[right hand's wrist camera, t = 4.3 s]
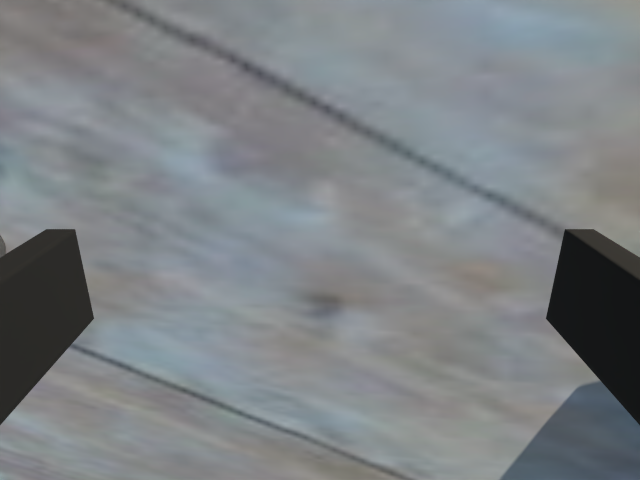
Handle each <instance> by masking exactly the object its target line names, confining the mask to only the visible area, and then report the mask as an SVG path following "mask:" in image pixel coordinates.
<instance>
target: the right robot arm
mask: <svg viewBox="0 0 640 480" xmlns="http://www.w3.org/2000/svg"><path fill="white" fill-rule="evenodd" d="M93 319H94V317H93V312H92V307H91V303H90V298H89V293H88V288H87V284H86V279H85V274H84V269H83V265H82V260H81V255H80V251H79V246H78V241H77V236H76V232H75V229H46V230H45V231H43V232H41V233H40V234H38V235H36V236H35V237H33V238H32V239H30V240H28V241H27V242H25V243H23V244H22V245H20V246H18V247H17V248H15V249H14V250H12V251H10V252H9V253H7V254H5V255H4V256H2V257H1V258H0V425H1V424H2V422H3V421H4V420H5V419H6V418H7V417H8V416H9V414H10V413H11V412H12V411H13V410H14V409H15V408H16V406H17V405H18V404H19V403H20V402H21V401H22V400H23V399H24V397H25V396H26V395H27V394H28V393H29V392H30V391H31V389H32V388H33V387H34V386H35V385H36V384H37V383H38V381H39V380H40V379H41V378H42V377H43V376H44V375H45V374H46V372H47V371H48V370H49V369H50V368H51V367H52V366H53V364H54V363H55V362H56V361H57V360H58V359H59V358H60V357H61V355H62V354H63V353H64V352H65V351H66V350H67V349H68V347H69V346H70V345H71V344H72V343H73V342H74V341H75V339H76V338H77V337H78V336H79V335H80V334H81V333H82V332H83V330H84V329H85V328H86V327H87V326H88V325H89V324H90V322H91V321H92V320H93ZM546 319H547V320H548V321H549V322H550V324H551V325H552V326H553V327H554V328H555V329H556V330H557V332H558V333H559V334H560V335H561V336H562V337H563V338H564V339H565V341H566V342H567V343H568V344H569V345H570V346H571V347H572V349H573V350H574V351H575V352H576V353H577V354H578V355H579V357H580V358H581V359H582V360H583V361H584V362H585V363H586V364H587V366H588V367H589V368H590V369H591V370H592V371H593V372H594V374H595V375H596V376H597V377H598V378H599V379H600V380H601V381H602V383H603V384H604V385H605V386H606V387H607V388H608V389H609V391H610V392H611V393H612V394H613V395H614V396H615V397H616V399H617V400H618V401H619V402H620V403H621V404H622V405H623V406H624V408H625V409H626V410H627V411H628V412H629V413H630V414H631V416H632V417H633V418H634V419H635V420H636V421H637V422H638V424H639V425H640V258H639V257H638V256H636V255H635V254H633V253H631V252H630V251H628V250H626V249H625V248H623V247H622V246H620V245H618V244H617V243H615V242H613V241H612V240H610V239H608V238H607V237H605V236H604V235H602V234H600V233H599V232H597V231H595V230H594V229H565V232H564V236H563V241H562V246H561V251H560V255H559V260H558V265H557V269H556V274H555V279H554V284H553V288H552V293H551V298H550V303H549V307H548V312H547V317H546Z"/></svg>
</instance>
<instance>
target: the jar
mask: <svg viewBox="0 0 640 480" xmlns="http://www.w3.org/2000/svg"><path fill="white" fill-rule="evenodd" d="M5 252H6V248H5V244H4V241H3V239H2V238H1V236H0V258H1V257H2V256H4V255H5Z"/></svg>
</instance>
